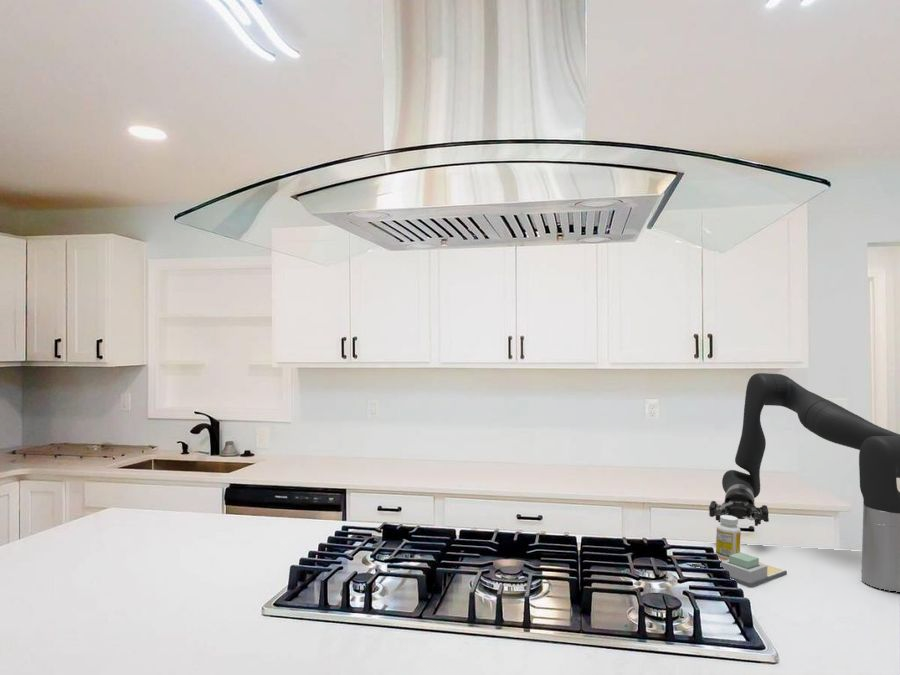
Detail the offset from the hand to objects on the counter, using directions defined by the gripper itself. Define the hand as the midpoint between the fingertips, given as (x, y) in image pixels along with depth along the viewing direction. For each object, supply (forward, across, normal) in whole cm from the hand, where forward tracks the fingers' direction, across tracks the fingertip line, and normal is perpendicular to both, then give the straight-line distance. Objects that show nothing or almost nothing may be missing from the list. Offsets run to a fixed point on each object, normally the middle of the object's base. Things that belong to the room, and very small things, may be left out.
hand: (737, 520), depth 158 cm
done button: (+21, +2, +4) cm, 21 cm away
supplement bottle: (+10, -2, +6) cm, 12 cm away
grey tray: (+16, 0, +6) cm, 17 cm away
